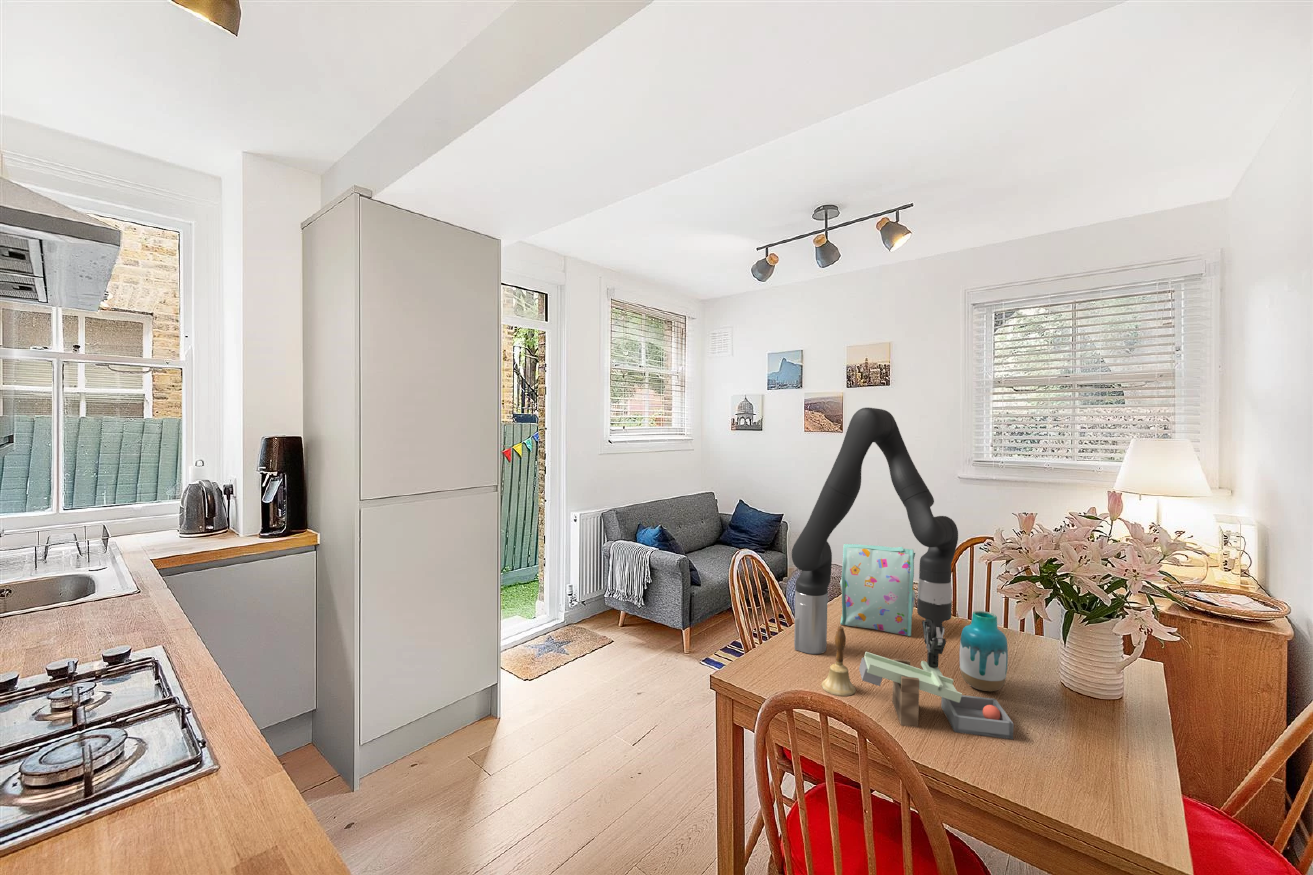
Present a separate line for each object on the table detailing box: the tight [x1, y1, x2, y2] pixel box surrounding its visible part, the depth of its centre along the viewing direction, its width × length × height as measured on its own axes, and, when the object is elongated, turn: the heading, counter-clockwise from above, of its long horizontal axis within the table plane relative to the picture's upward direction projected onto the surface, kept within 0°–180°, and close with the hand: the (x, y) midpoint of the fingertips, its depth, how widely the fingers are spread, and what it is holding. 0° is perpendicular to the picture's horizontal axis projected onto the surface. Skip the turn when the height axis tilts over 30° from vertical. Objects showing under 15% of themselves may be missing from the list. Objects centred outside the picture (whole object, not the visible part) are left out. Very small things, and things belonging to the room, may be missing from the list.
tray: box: [940, 694, 1015, 740], centre depth 126 cm, size 12×11×4 cm
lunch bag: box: [839, 543, 916, 637], centre depth 183 cm, size 23×16×27 cm
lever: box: [858, 651, 963, 703], centre depth 133 cm, size 20×16×5 cm
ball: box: [983, 705, 1001, 720], centre depth 125 cm, size 4×4×4 cm
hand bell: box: [821, 626, 856, 697], centre depth 141 cm, size 8×8×16 cm
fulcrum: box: [891, 658, 920, 728], centre depth 129 cm, size 4×10×11 cm, turn 167°
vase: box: [959, 610, 1009, 692], centre depth 141 cm, size 11×11×19 cm
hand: (932, 666), depth 137 cm, fingers closed
